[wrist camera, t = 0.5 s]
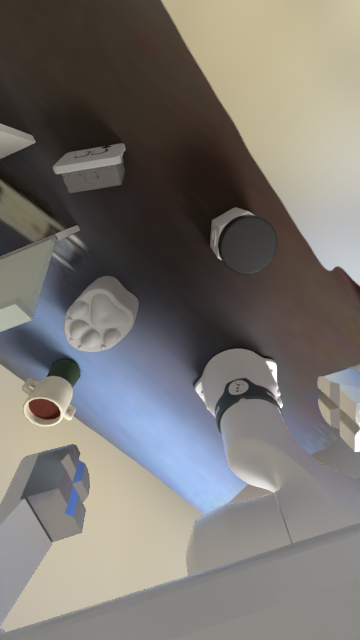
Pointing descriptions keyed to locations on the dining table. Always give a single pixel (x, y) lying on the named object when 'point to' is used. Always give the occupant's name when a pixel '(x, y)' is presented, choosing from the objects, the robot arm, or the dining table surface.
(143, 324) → the dining table surface
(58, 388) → the character mug
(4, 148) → the channel
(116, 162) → the electrical switch
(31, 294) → the cover
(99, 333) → the cat paw sculpture
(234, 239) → the jar
